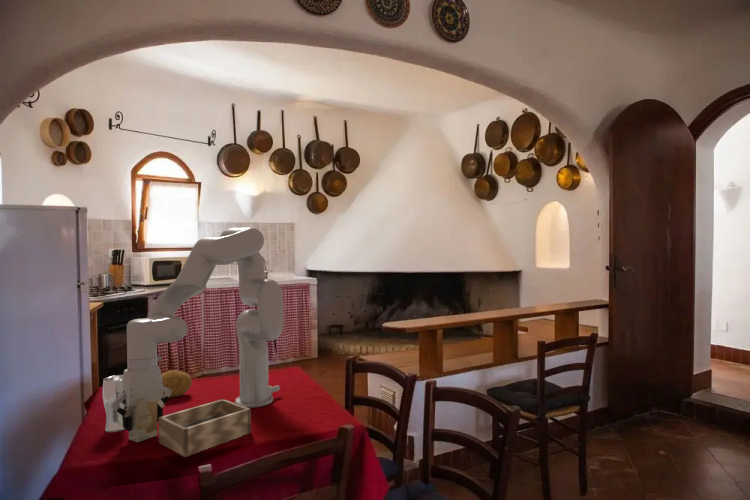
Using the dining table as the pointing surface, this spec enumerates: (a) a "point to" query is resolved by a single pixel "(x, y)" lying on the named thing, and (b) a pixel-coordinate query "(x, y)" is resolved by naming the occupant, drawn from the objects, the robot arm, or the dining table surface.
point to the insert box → (204, 426)
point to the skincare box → (143, 420)
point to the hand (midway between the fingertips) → (143, 425)
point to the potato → (176, 382)
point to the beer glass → (109, 395)
